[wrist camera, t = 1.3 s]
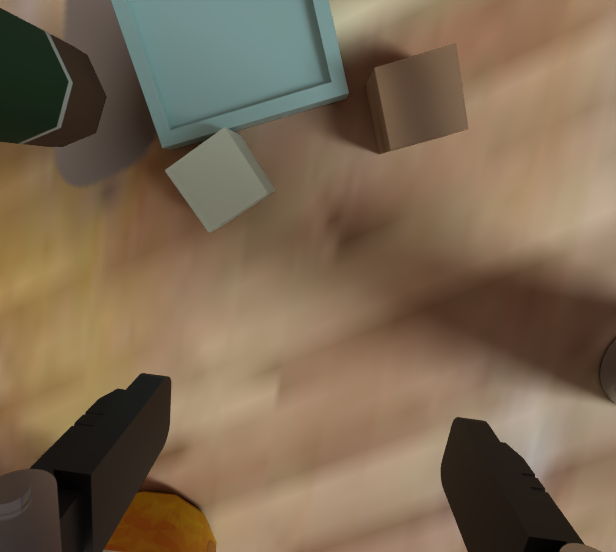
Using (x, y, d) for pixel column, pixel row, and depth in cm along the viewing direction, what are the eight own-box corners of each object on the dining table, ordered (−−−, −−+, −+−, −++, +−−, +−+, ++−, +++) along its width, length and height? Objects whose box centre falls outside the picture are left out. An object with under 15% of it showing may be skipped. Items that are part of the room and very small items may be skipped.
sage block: (240, 134, 29) (224, 127, 24) (276, 190, 30) (268, 193, 25) (189, 171, 30) (164, 170, 25) (226, 223, 31) (209, 233, 26)
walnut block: (431, 66, 27) (455, 43, 22) (443, 136, 28) (468, 128, 24) (364, 86, 28) (374, 67, 23) (378, 154, 29) (390, 150, 24)
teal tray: (297, -126, 24) (295, -152, 22) (346, 98, 28) (348, 92, 26) (102, -57, 26) (84, -76, 24) (172, 149, 29) (162, 147, 27)
